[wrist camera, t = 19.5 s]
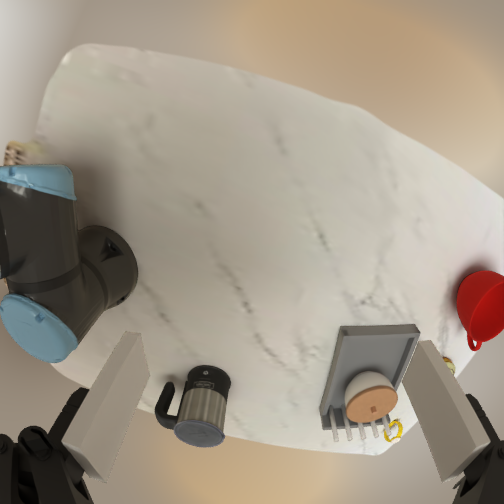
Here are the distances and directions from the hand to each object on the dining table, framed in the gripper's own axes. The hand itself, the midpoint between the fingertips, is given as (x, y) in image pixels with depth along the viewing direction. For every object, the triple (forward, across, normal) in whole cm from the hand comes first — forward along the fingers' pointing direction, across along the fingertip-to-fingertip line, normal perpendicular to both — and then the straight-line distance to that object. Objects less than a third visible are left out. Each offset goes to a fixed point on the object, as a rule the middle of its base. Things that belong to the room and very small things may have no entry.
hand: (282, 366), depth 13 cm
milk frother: (+35, -12, -41) cm, 56 cm away
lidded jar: (+34, +22, -36) cm, 54 cm away
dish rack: (+35, +22, -34) cm, 53 cm away
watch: (+35, +36, -56) cm, 75 cm away
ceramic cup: (+35, +42, -16) cm, 57 cm away
